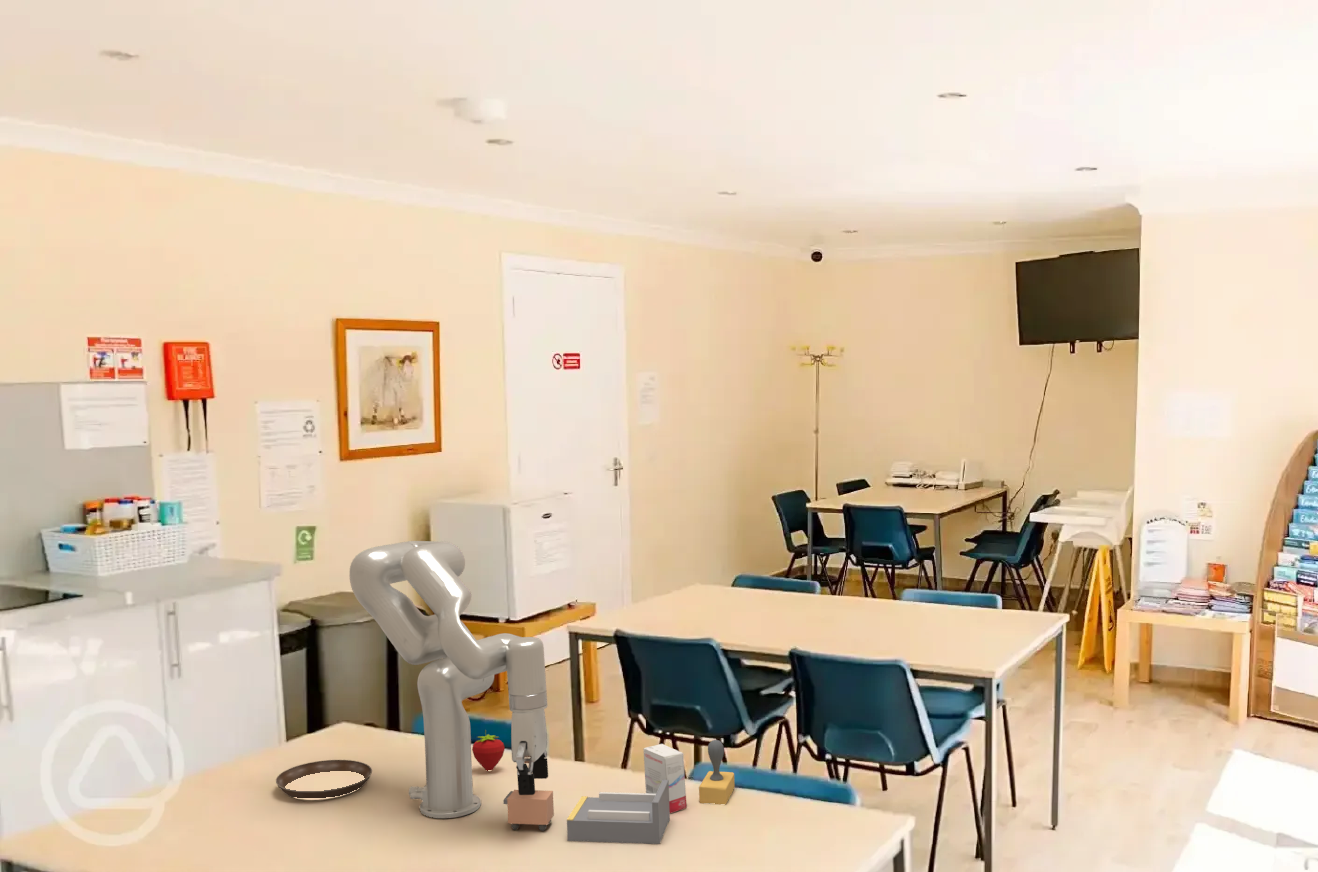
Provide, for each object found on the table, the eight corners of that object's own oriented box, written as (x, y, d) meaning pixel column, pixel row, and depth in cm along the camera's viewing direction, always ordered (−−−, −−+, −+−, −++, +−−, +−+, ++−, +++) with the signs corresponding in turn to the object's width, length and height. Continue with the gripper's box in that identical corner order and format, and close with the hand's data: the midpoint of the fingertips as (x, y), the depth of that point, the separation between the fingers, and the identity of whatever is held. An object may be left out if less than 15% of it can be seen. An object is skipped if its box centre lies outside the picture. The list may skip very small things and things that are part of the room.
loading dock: (567, 841, 218) (566, 800, 218) (582, 816, 230) (581, 777, 230) (659, 844, 215) (658, 802, 215) (669, 819, 227) (668, 780, 227)
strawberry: (501, 776, 257) (500, 733, 256) (469, 776, 257) (467, 732, 257) (508, 768, 262) (507, 725, 262) (477, 767, 263) (475, 725, 263)
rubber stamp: (708, 787, 246) (707, 732, 245) (734, 788, 244) (733, 734, 244) (699, 803, 236) (697, 746, 236) (726, 805, 235) (724, 748, 234)
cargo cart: (504, 831, 224) (503, 798, 224) (511, 821, 229) (510, 789, 229) (547, 832, 223) (546, 799, 222) (554, 822, 228) (552, 791, 227)
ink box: (687, 809, 233) (685, 752, 232) (667, 815, 230) (665, 757, 229) (664, 797, 240) (662, 742, 240) (644, 803, 237) (642, 747, 237)
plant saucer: (392, 782, 256) (391, 767, 256) (320, 812, 238) (319, 796, 238) (329, 768, 267) (329, 754, 267) (256, 795, 250) (255, 780, 249)
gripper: (522, 690, 234) (527, 772, 234) (496, 712, 217) (502, 801, 217) (557, 689, 233) (563, 772, 233) (534, 712, 215) (540, 801, 216)
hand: (533, 786), depth 225 cm, fingers open, 9 cm apart
